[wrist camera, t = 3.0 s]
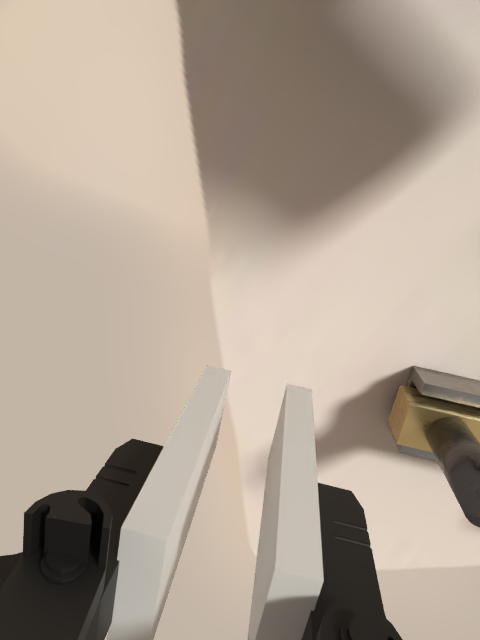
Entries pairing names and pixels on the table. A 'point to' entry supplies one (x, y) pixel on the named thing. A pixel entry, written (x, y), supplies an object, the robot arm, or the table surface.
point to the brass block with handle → (443, 440)
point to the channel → (441, 395)
